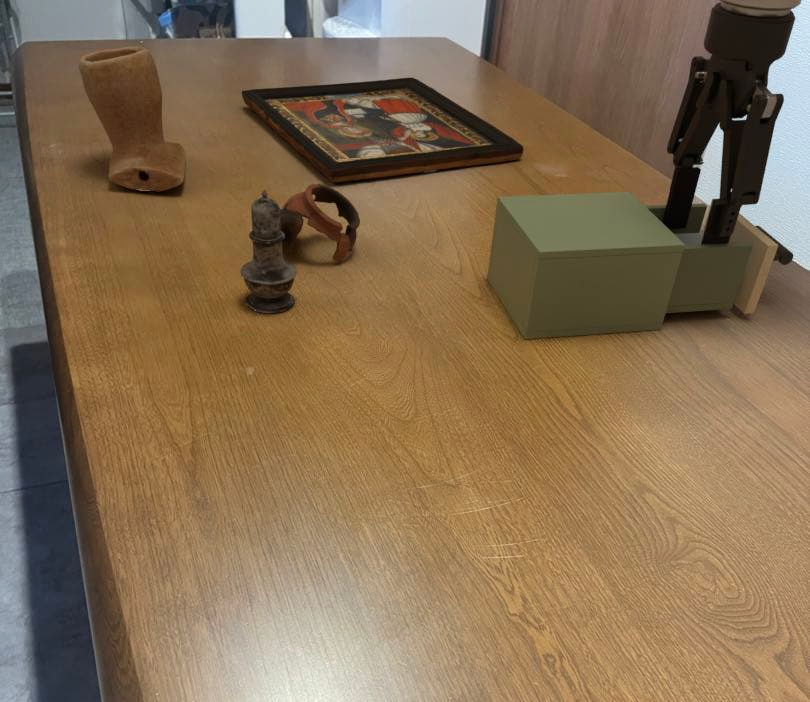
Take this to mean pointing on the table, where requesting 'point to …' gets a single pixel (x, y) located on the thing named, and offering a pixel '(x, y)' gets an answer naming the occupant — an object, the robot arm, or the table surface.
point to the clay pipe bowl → (132, 118)
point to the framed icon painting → (379, 128)
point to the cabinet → (582, 264)
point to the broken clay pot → (319, 218)
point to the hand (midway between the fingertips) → (690, 243)
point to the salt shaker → (268, 261)
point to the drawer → (722, 266)
